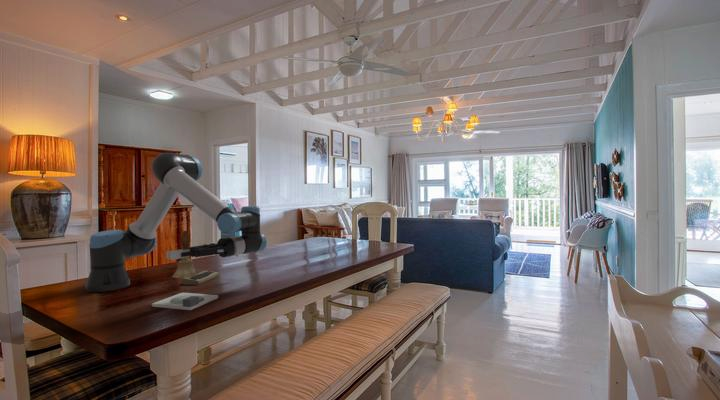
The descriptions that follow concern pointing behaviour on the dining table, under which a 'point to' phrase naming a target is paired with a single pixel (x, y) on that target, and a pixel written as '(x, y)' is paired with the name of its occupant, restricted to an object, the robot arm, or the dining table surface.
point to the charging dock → (180, 306)
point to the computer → (200, 278)
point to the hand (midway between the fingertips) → (168, 255)
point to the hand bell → (185, 261)
